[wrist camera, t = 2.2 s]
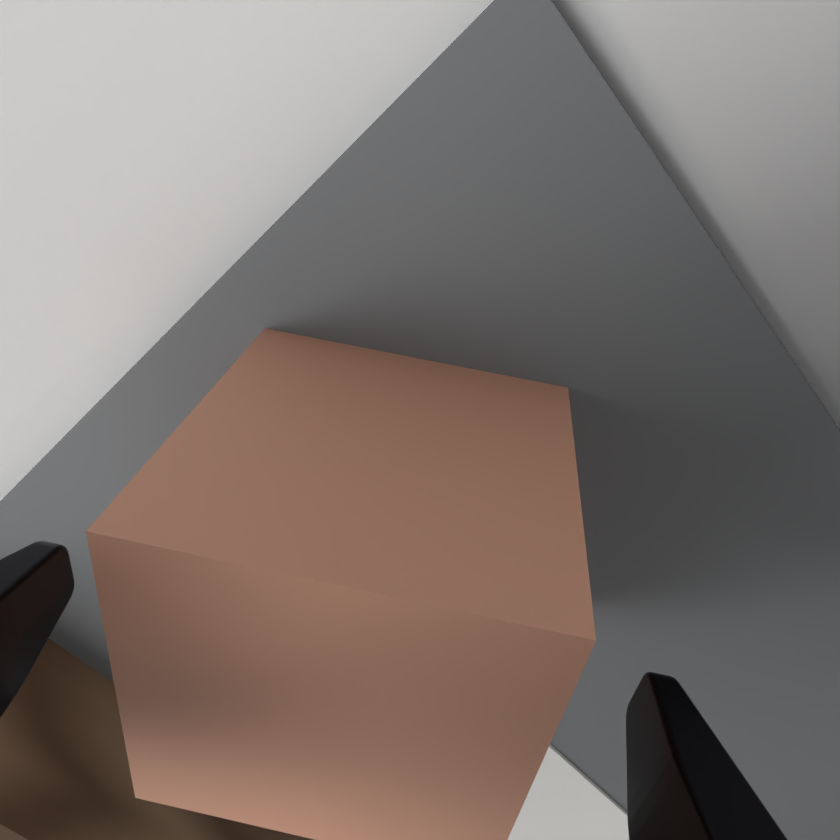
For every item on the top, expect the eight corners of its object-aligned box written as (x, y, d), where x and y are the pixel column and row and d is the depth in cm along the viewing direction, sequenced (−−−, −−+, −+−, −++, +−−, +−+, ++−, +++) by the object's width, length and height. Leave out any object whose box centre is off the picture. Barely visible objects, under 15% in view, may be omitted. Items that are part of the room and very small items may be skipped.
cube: (261, 549, 14) (134, 798, 10) (264, 328, 11) (85, 531, 7) (502, 601, 14) (489, 880, 10) (568, 388, 11) (596, 640, 7)
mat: (-75, 577, 17) (-87, 588, 17) (527, -32, 8) (528, -36, 8) (484, 957, 25) (483, 970, 24) (1115, 842, 16) (1127, 860, 16)
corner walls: (-83, 585, 17) (-235, 724, 14) (528, -34, 8) (528, -79, 5) (484, 967, 24) (476, 1118, 21) (1124, 855, 16) (1289, 1083, 12)
